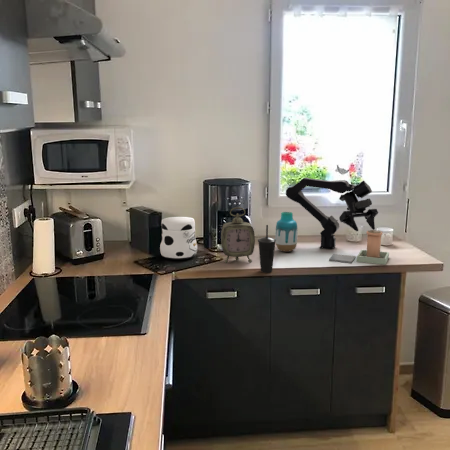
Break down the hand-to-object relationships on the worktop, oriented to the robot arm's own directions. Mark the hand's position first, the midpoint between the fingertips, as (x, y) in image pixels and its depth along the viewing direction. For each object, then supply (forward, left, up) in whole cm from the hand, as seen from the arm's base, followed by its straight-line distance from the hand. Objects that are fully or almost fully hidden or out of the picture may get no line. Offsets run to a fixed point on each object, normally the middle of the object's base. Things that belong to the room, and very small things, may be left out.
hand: (365, 230), depth 236 cm
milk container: (-80, -36, -13) cm, 88 cm away
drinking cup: (-35, -41, -13) cm, 55 cm away
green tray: (+4, -5, -12) cm, 14 cm away
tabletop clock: (-52, -32, -13) cm, 62 cm away
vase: (-37, -6, -13) cm, 39 cm away
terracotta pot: (+4, -5, -12) cm, 14 cm away
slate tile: (-9, -10, -12) cm, 18 cm away
